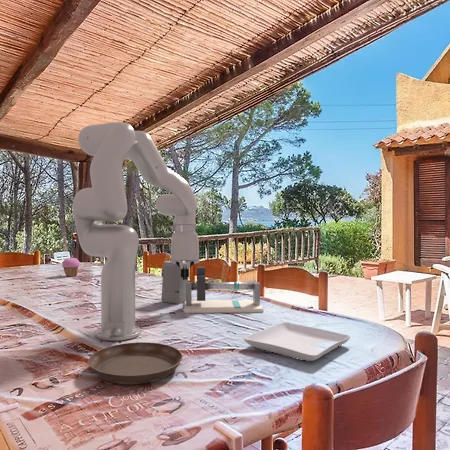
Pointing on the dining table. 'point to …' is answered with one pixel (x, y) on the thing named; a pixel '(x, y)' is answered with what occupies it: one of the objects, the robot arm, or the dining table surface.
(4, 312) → the dining table surface
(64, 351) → the dining table surface
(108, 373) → the plant saucer
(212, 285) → the rail
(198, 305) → the board
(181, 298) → the skincare box
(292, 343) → the salad plate
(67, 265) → the cupcake
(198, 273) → the collar
